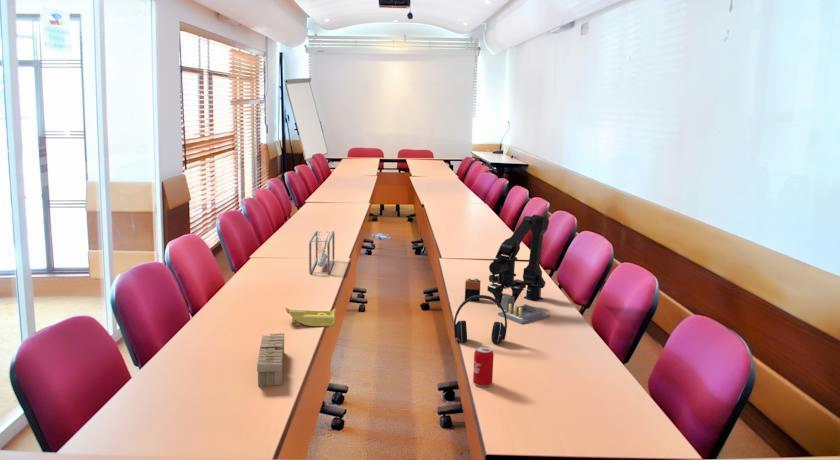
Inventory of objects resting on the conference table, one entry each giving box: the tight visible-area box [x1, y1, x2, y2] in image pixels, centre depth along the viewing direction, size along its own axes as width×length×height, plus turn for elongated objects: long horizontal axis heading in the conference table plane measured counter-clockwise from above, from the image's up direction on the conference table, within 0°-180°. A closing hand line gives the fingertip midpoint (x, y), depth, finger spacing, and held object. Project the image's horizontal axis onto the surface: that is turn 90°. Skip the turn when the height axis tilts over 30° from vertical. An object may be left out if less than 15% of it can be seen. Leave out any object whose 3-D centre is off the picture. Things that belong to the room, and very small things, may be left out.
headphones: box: [453, 294, 508, 344], centre depth 252 cm, size 20×7×18 cm, turn 88°
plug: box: [497, 293, 515, 311], centre depth 295 cm, size 4×6×6 cm
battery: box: [464, 278, 481, 302], centre depth 307 cm, size 4×7×10 cm, turn 83°
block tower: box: [256, 332, 285, 387], centre depth 222 cm, size 8×8×29 cm
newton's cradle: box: [308, 230, 335, 275], centre depth 357 cm, size 30×10×18 cm, turn 2°
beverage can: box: [472, 345, 495, 388], centre depth 215 cm, size 6×6×12 cm
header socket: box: [497, 303, 551, 325], centre depth 285 cm, size 17×14×6 cm
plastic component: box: [285, 307, 337, 327], centre depth 270 cm, size 20×7×10 cm
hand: (505, 305), depth 296 cm, fingers open, 9 cm apart
